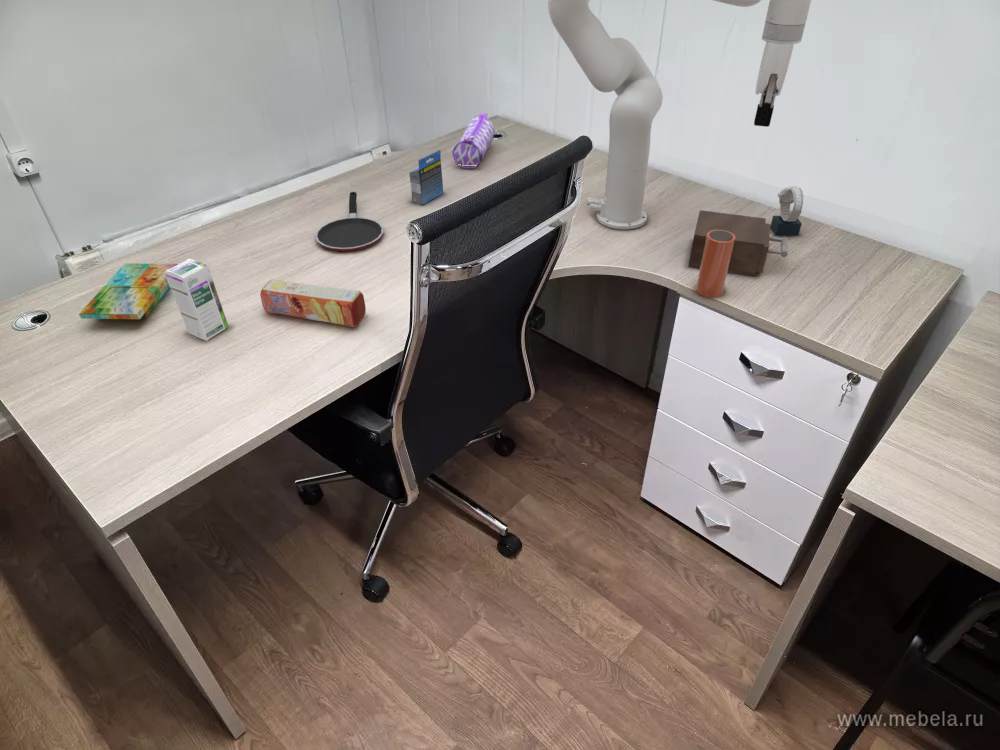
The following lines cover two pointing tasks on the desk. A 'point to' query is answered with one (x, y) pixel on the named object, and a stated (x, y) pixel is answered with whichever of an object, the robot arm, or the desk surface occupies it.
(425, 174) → the tape cartridge
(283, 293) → the snack package
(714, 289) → the pencil cup
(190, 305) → the syrup box
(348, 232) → the frying pan
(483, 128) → the pencil case
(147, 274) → the puzzle game
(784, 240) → the drawer
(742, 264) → the cabinet
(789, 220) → the watch
